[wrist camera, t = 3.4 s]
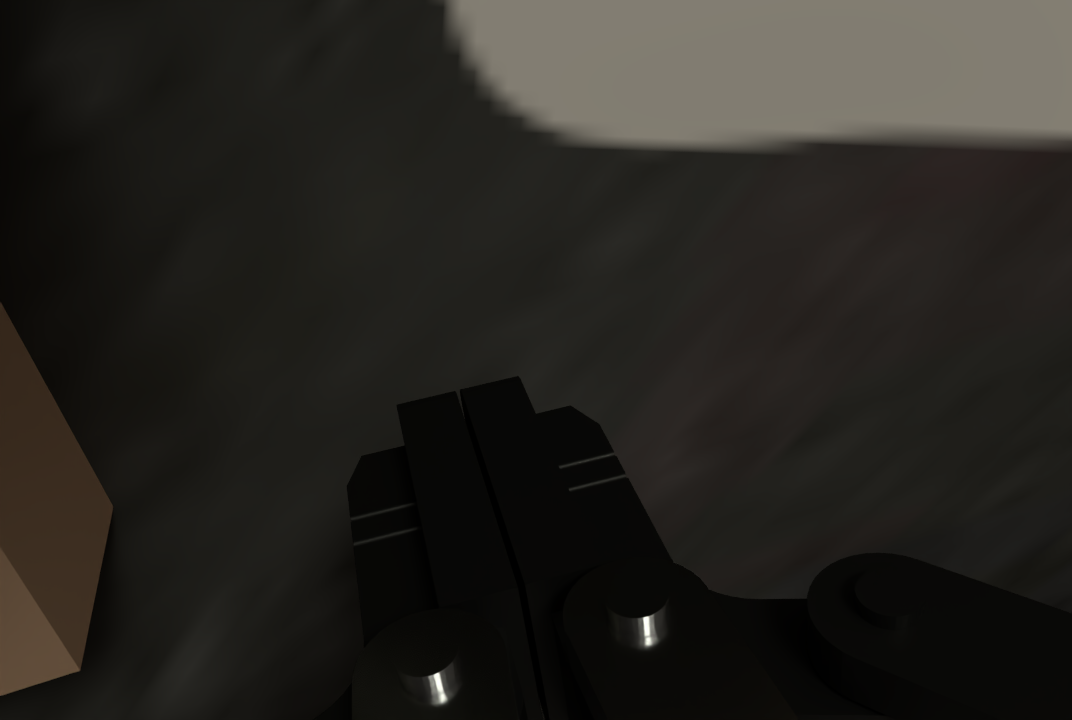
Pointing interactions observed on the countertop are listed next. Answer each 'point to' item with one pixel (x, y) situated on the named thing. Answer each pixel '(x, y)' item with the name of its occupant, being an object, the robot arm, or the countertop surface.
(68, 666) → the brown rectangular block
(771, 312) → the countertop surface
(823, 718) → the robot arm
